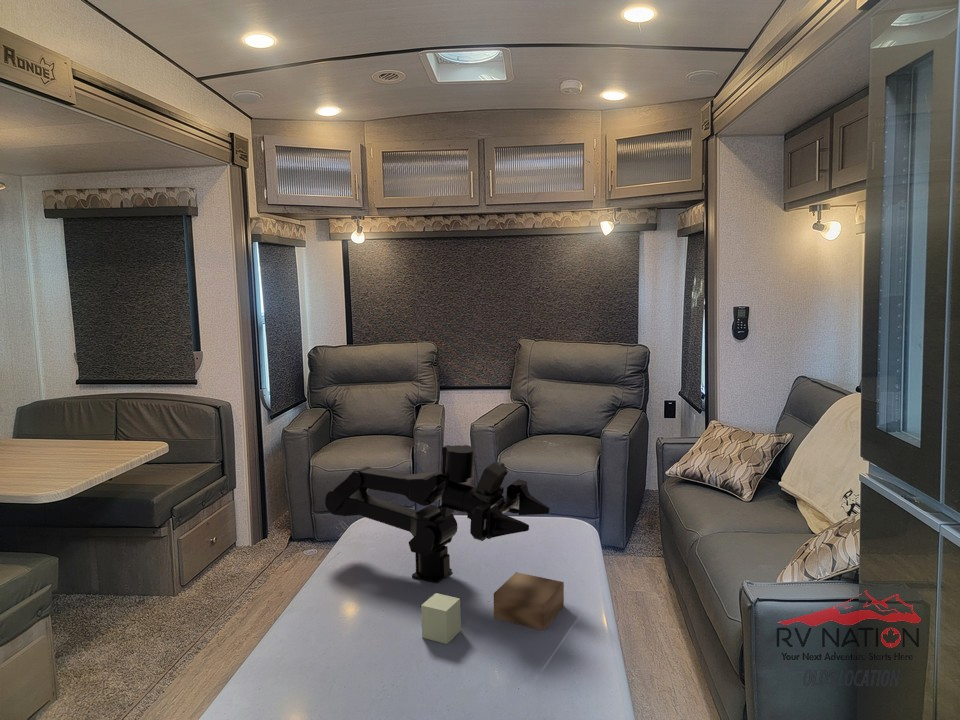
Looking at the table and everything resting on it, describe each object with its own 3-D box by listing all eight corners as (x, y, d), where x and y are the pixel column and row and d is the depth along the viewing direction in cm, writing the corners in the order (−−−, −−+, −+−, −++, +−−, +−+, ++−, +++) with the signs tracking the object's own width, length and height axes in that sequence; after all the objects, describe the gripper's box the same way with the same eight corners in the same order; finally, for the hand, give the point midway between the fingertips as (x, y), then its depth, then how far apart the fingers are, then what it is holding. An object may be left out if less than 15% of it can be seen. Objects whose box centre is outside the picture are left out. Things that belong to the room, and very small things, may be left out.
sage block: (422, 637, 116) (421, 605, 115) (436, 624, 120) (435, 593, 119) (446, 644, 113) (446, 611, 113) (460, 630, 118) (460, 598, 117)
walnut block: (493, 619, 122) (493, 593, 122) (516, 596, 131) (516, 572, 130) (544, 631, 118) (543, 604, 117) (563, 606, 126) (563, 581, 126)
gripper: (445, 475, 124) (519, 495, 117) (494, 449, 140) (561, 465, 132) (443, 530, 126) (516, 553, 119) (491, 498, 142) (558, 516, 135)
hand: (539, 519), depth 126 cm, fingers open, 9 cm apart
